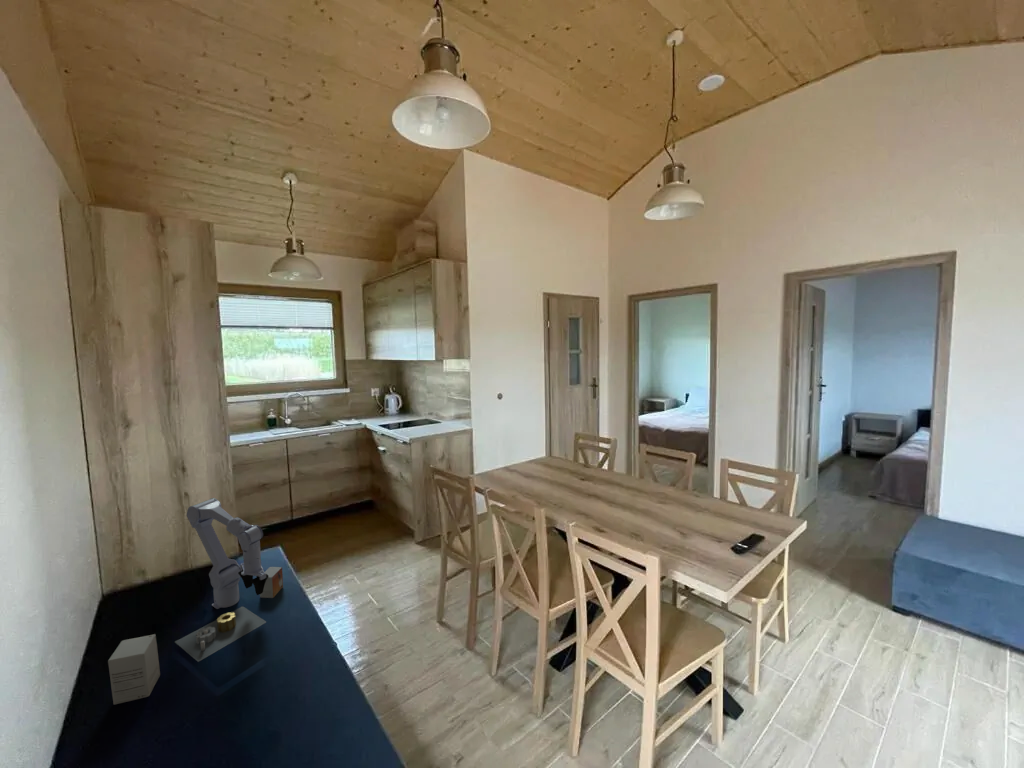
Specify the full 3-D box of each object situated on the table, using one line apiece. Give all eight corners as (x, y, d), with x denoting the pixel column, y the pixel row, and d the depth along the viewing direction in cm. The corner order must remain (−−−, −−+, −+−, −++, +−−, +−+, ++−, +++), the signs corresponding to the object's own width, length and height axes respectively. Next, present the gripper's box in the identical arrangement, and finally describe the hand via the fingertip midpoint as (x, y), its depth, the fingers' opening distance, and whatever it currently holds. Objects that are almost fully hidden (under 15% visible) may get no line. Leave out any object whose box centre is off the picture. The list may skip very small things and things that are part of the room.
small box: (273, 601, 177) (271, 577, 176) (259, 600, 177) (258, 577, 176) (283, 589, 185) (282, 566, 184) (271, 589, 185) (269, 566, 184)
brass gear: (214, 628, 159) (214, 618, 158) (231, 620, 163) (230, 610, 163) (222, 634, 156) (221, 624, 155) (238, 625, 161) (238, 615, 160)
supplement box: (126, 682, 137) (121, 639, 134) (161, 674, 140) (156, 632, 138) (111, 705, 128) (106, 660, 126) (149, 697, 131) (144, 653, 129)
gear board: (174, 645, 152) (173, 634, 151) (242, 609, 172) (242, 599, 171) (198, 666, 144) (197, 653, 143) (267, 625, 163) (266, 614, 162)
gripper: (231, 557, 167) (233, 589, 169) (251, 568, 159) (254, 602, 161) (250, 549, 173) (252, 580, 175) (270, 559, 165) (272, 592, 167)
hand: (254, 590), depth 168 cm, fingers open, 7 cm apart
